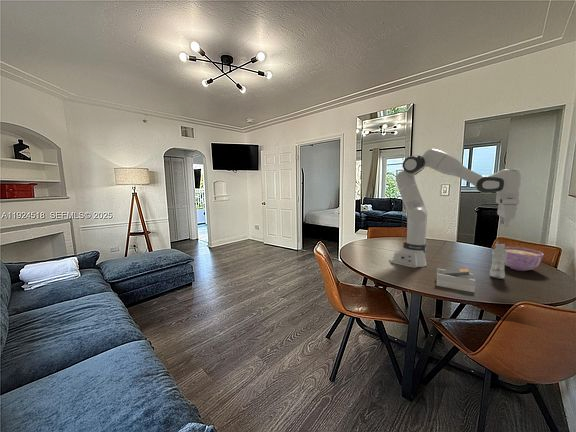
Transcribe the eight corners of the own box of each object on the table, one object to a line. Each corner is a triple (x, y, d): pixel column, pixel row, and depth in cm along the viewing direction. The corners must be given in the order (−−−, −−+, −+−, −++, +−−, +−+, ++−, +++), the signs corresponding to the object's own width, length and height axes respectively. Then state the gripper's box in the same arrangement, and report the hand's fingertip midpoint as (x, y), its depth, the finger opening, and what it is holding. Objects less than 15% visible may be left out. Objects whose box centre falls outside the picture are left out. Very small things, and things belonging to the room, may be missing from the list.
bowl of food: (551, 275, 137) (554, 256, 135) (510, 273, 141) (513, 254, 139) (524, 264, 156) (526, 247, 155) (489, 262, 160) (491, 246, 159)
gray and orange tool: (441, 276, 126) (441, 273, 126) (441, 272, 131) (441, 269, 132) (469, 275, 120) (468, 272, 120) (468, 271, 125) (467, 268, 125)
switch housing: (436, 285, 126) (437, 274, 125) (436, 277, 136) (437, 267, 135) (474, 292, 117) (475, 281, 116) (471, 283, 127) (472, 273, 126)
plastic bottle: (496, 275, 138) (499, 242, 136) (507, 279, 132) (512, 245, 129) (486, 275, 138) (489, 242, 135) (497, 280, 131) (501, 245, 129)
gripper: (495, 198, 137) (492, 222, 139) (503, 200, 120) (500, 227, 122) (510, 198, 134) (507, 222, 136) (520, 201, 117) (516, 228, 119)
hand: (503, 225), depth 129 cm, fingers open, 8 cm apart
